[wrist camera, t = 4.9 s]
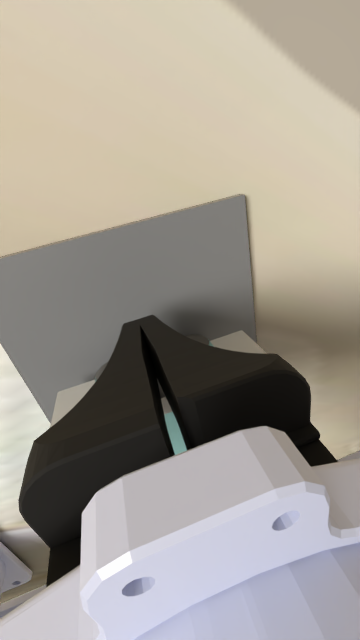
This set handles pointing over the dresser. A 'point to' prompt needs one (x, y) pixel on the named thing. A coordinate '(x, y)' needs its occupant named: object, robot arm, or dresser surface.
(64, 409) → the grey teal-panelled part
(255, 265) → the dresser surface
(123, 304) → the dock
